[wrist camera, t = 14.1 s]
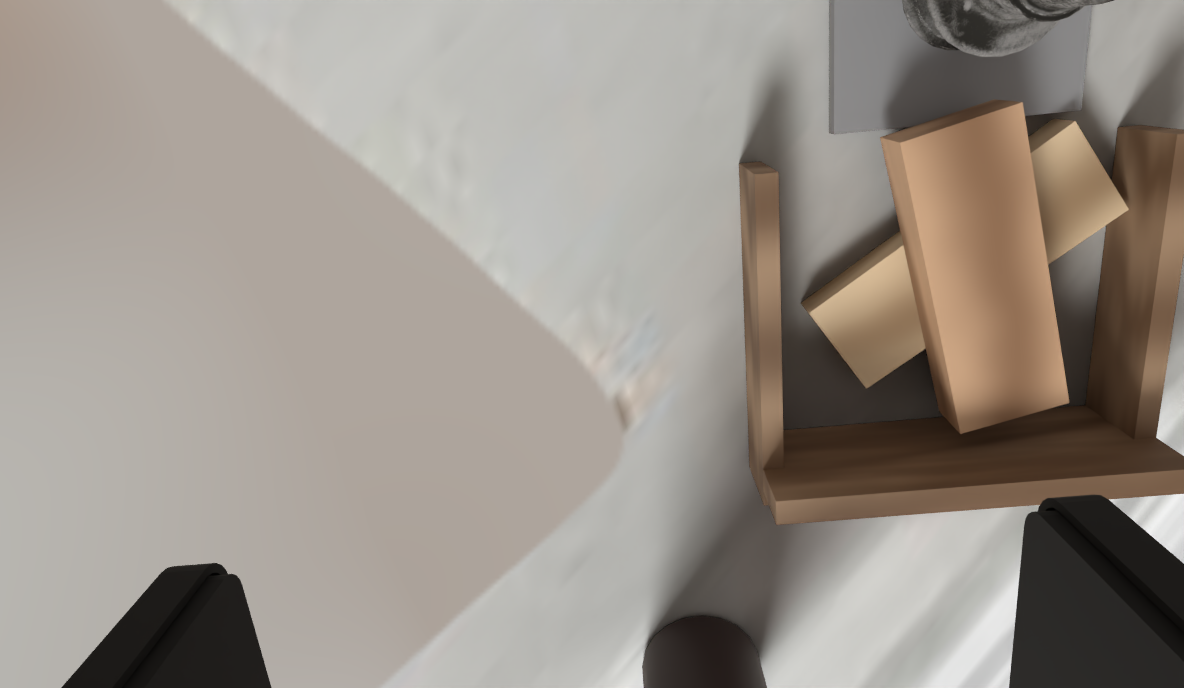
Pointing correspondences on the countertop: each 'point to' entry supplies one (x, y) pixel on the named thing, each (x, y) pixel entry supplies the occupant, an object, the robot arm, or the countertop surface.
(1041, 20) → the grey stone finial
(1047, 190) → the lower offcut
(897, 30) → the mat
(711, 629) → the bottle
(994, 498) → the rack
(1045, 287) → the upper offcut
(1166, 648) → the robot arm
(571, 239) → the countertop surface
